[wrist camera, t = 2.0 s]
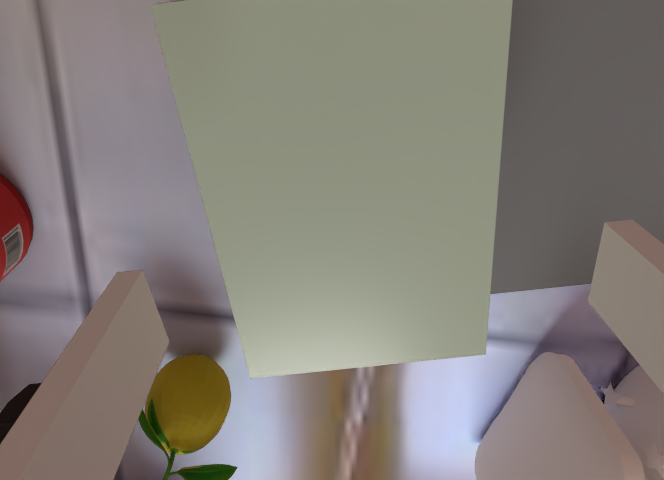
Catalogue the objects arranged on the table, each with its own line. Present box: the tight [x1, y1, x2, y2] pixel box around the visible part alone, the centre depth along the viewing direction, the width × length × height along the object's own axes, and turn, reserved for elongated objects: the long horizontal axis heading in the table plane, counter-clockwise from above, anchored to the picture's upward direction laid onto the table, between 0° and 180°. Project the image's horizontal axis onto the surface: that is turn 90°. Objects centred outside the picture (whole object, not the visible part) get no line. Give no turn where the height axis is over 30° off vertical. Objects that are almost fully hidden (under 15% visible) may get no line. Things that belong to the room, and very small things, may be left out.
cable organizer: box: [475, 352, 664, 480], centre depth 34 cm, size 15×11×12 cm
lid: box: [150, 0, 513, 378], centre depth 20 cm, size 11×16×4 cm
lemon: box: [138, 354, 237, 480], centre depth 31 cm, size 7×6×10 cm
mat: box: [490, 0, 664, 294], centre depth 27 cm, size 15×20×1 cm
